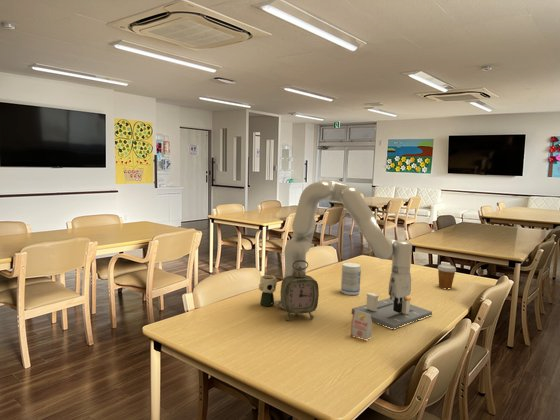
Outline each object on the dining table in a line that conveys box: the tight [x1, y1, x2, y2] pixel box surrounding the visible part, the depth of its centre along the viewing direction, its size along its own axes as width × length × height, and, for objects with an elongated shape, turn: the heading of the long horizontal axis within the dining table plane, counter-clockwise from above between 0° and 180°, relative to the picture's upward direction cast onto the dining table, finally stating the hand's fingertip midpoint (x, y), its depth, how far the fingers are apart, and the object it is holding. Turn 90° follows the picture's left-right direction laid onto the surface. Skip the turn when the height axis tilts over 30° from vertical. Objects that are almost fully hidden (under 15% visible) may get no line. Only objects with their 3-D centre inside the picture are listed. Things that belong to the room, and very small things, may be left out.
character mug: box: [258, 274, 278, 307], centre depth 185 cm, size 11×7×13 cm, turn 136°
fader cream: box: [365, 292, 379, 311], centre depth 178 cm, size 3×4×7 cm, turn 38°
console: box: [351, 297, 433, 329], centre depth 180 cm, size 28×22×2 cm
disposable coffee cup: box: [437, 263, 457, 290], centre depth 223 cm, size 10×10×12 cm
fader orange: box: [401, 296, 412, 314], centre depth 176 cm, size 3×4×7 cm, turn 38°
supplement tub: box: [340, 262, 362, 296], centre depth 208 cm, size 10×10×15 cm
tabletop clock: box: [280, 260, 320, 322], centre depth 171 cm, size 14×9×25 cm, turn 105°
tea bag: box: [350, 310, 373, 339], centre depth 155 cm, size 4×7×10 cm, turn 52°
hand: (397, 311), depth 174 cm, fingers closed
